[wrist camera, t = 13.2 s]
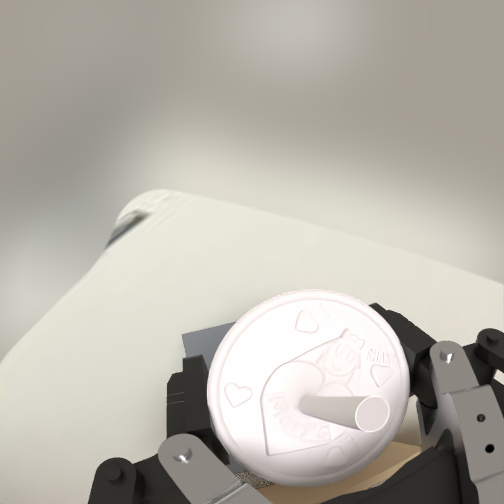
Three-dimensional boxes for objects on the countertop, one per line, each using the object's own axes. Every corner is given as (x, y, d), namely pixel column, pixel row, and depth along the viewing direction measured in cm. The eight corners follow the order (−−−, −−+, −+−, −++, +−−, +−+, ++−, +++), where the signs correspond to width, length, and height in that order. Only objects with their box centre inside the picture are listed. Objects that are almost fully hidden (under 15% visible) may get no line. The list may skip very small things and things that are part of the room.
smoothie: (203, 399, 15) (80, 411, 3) (267, 321, 18) (322, 148, 6) (287, 458, 14) (399, 584, 1) (347, 377, 16) (535, 314, 4)
